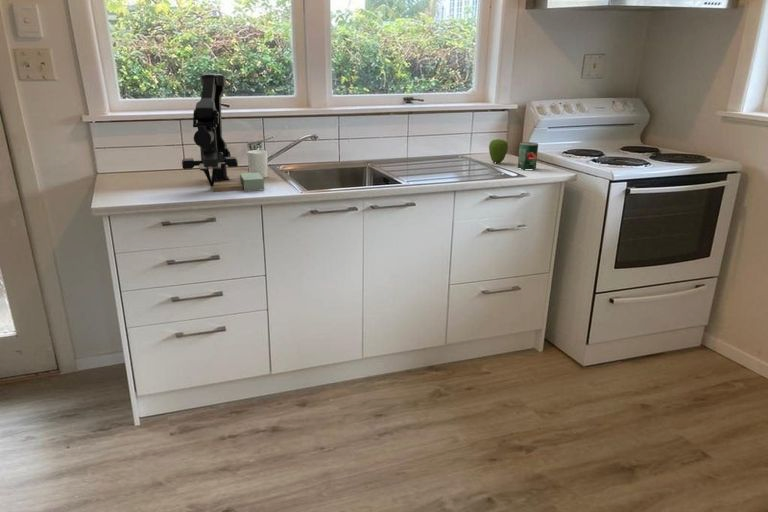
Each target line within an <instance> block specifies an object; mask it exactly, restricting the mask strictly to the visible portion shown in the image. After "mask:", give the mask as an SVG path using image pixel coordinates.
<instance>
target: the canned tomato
mask: <svg viewBox="0 0 768 512" xmlns="http://www.w3.org/2000/svg"><path fill="white" fill-rule="evenodd" d="M518 147H519V148H518V161H517V169H518V168H521V169H536V170H537V162H538V161H537V159H538V151H539V150H538V149H539V143H538V142H532V141H529V142H526V141H522V142H519V146H518Z"/></svg>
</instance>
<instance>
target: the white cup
mask: <svg viewBox="0 0 768 512" xmlns="http://www.w3.org/2000/svg"><path fill="white" fill-rule="evenodd" d="M246 155H247V163H248V172H249V173H259V174H260V175H261V176H262V177H263V179H265V178H267V177H268V169H269V168H268V166H269V165H268V159H269V158H268V157H269V155H268V151H267V150H264V149H263V150H262V149H257V150H256V149H253V150H248V151H246ZM264 177H265V178H264Z"/></svg>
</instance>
